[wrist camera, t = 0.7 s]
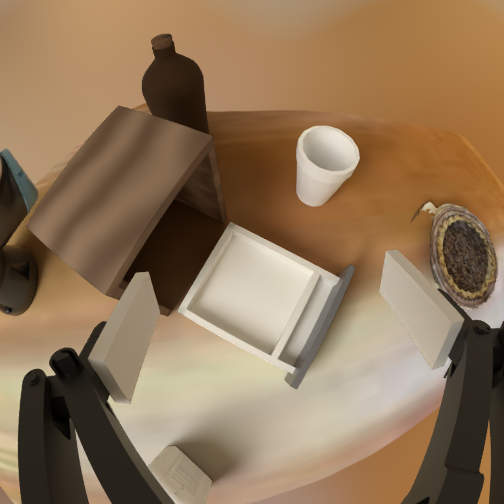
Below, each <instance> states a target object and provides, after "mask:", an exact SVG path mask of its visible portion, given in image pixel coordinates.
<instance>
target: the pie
mask: <svg viewBox="0 0 504 504" xmlns="http://www.w3.org/2000/svg"><path fill="white" fill-rule="evenodd" d="M425 207H426V208H425ZM420 208H421V209H422V210H424V211H426V209H431V210H430V211H429V213H432V212H433V213H434V214H435V216H434V217H435V218H434V217H432V218H434V220H433V224H432V230H431V244H430V264H431V269H432V273H433V277H434V280H435V281H436V282H437V284H438V285H439V287H440V289H441V290H443V291H445V292H446V293H448V294H449V295H450V296H451V297H452V298H453V300H454V301H455V302H456V303H457V304H458V305H459V306H460V307H461V308H465V309H474V308H478V305H479V306H480V305H482V304H483V302H484V303H485V302H487V299H489V298H491V297H490V296H491V295H492V293H493V290H494V285H495V282H496V278H497V275H498V262H497V257H496V253H495V250H494V248H493V247H492V245H493V244H492V243H491V241H490V239H489V236H490V235H489V232H488V231H487V229H486V228H485V226H484V224H483V223H481V221H479V219H478V218H477V217H476V216H475V215H473V214H472V213H471V212H470V211H469V210H467V209H466V207H464V206H461V207H460V206H457V205H455V204H448V203H447V204H444V205H442V206H439V208H435V206H433V204H432V203H431V202H426V203H425V204H424V205H422V206H421V207H420ZM420 208H419V209H420ZM419 209H418V211H417V212H416V214H415V215H414V217H413V219H412V221H413V220H414V219H415V217H416V216H417V215H419V214H420V212H419ZM412 221H411V222H412ZM410 224H411V223H410Z"/></svg>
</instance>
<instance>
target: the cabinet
mask: <svg viewBox="0 0 504 504" xmlns="http://www.w3.org/2000/svg"><path fill="white" fill-rule="evenodd" d="M174 199H175V200H177V201H179V202H181V203H183V204H185V205H187V206H189V207H191V208H193V209H195V210H197V211H199V212H201V213H203V214H205V215H207V216H209V217H211V218H213V219H215V220H217V221H219V222H221V223H224V222H225V220H226V219H227V216H226V211H225V205H224V199H223V193H222V187H221V182H220V176H219V170H218V164H217V158H216V152H215V145H214V139H213V136H211V135H208V134H205V133H203V132H200V131H197V130H194V129H192V128H189V127H186V126H183V125H180V124H177V123H174V122H171V121H168V120H165V119H162V118H159V117H156V116H153V115H149V114H146V113H143V112H140V111H136V110H133V109H129V108H126V107H122V106H118V107H117V108H116V109H115V110H114V111H113V112H112V113H111V114H110V115H109V116H108V117H107V118H106V120H104V122H103V123H102V124H101V125H100V126H99V127H98V128H97V129H96V130H95V132H94V133H93V134H92V135H91V136H90V137H89V138H88V139H87V141H86V142H85V143H84V144H83V145H82V147H81V148H80V149H79V150H78V152H77V153H76V154H75V155H74V157H73V158H72V159H71V160H70V162H69V163H68V164H67V166H66V167H65V168H64V170H63V171H62V172H61V174H60V175H59V176H58V178H57V179H56V181H55V182H54V183H53V185H52V186H51V188H50V189H49V191H48V192H47V194H46V195H45V197H44V198H43V200H42V201H41V203H40V204H39V206H38V208H37V209H36V211H35V212H34V214H33V216H32V217H31V219H30V221H29V223H28V224H27V226H26V227H27V228H28V229H29V230H30V231H31V232H32V233H33V234H34V235H35V236H36V237H37V238H38V239H40V240H41V241H42V242H43V243H44V244H45V245H46V246H47V247H48V248H49V249H50V250H51V251H53V252H54V253H55V254H56V255H57V256H58V257H59V258H60V259H62V260H63V261H64V262H65V263H66V264H67V265H69V266H70V267H71V268H72V269H73V270H74V271H76V272H77V273H78V274H79V275H80V276H82V277H83V278H84V279H85V280H87V281H88V282H89V283H90V284H92V285H93V286H94V287H95V288H97V289H98V290H99V291H101V292H102V293H103V294H104V295H107V296H109V297H112V298H115V299H117V300H120V298H121V297H122V295H123V293H124V292H125V290H126V288H127V287H128V285H129V282H128V281H126V280H125V279H123V278H124V276H125V274H126V273H127V271H128V269H129V268H130V266H131V264H132V263H133V261H134V259H135V258H136V256H137V254H138V253H139V251H140V250H141V248H142V246H143V245H144V243H145V242H146V240H147V239H148V237H149V235H150V234H151V232H152V231H153V229H154V228H155V226H156V225H157V223H158V222H159V220H160V219H161V217H162V216H163V214H164V213H165V211H166V210H167V208H168V207H169V206H170V204H171V203H172V201H173V200H174ZM157 303H158V307H159V310H160V314H162V315H165V316H168V315H169V314H170V312H171V310H170V309H169V308H167V307H166V306H164V305H162V304H161V303H159V302H158V301H157Z"/></svg>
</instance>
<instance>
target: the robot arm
mask: <svg viewBox="0 0 504 504" xmlns="http://www.w3.org/2000/svg"><path fill="white" fill-rule="evenodd" d="M37 199H38V190H37V188H36V187H35V186H34V184H33V183H32V181H31V180H30V179H29V178H28V176H27V175H26V173H25V172H24V171H23V169H22V168H21V166H20V165H19V164H18V162H17V161H16V160H15V158H14V157H13V155H12V154H11V152H10V151H9V150H8V149H4V150H3V151H1V152H0V311H1V312H3V313H5V314H7V315H12V316H18V315H20V314H22V313H23V312H25V311H26V309H27V308H28V307H29V305H30V304H31V302H32V300H33V297H34V294H35V291H36V286H37V266H36V262H35V259H34V257H33V255H32V254H31V253H30V252H29V251H28V250H27V249H25V248H23V247H21V246H17V245H6V244H7V242H8V241H9V239H10V238H11V236H12V235H13V233H14V232H15V231H16V229H17V228H18V226H19V225H20V224H21V222H22V221H23V220H24V218H25V217H26V216H27V215H28V214H29V212H30V209H31V208H32V207H33V205H34V204H35V202H36V201H37ZM379 292H380V293H381V295H382V296H383V298H384V299H385V301H386V302H387V303H388V305H389V306H390V308H391V309H392V310H393V312H394V313H395V315H396V316H397V318H398V319H399V321H400V322H401V324H402V325H403V327H404V328H405V330H406V331H407V333H408V334H409V336H410V337H411V339H412V340H413V342H414V343H415V345H416V346H417V348H418V350H419V351H420V353H421V354H422V356H423V357H424V359H425V361H426V362H427V364H428V365H429V367H430V369H431V370H433V369H436V368H439V367H441V366H444V364H445V362H446V360H447V358H448V356H449V358H450V359H451V361H452V362H451V364H450V366H449V368H448V370H447V372H446V373H445V375H444V377H443V378H446V376H447V375H448V376H447V381H446V385H445V390H444V394H443V399H442V403H441V406H440V410H439V414H438V418H437V421H436V425H435V428H434V431H433V434H432V437H431V440H430V443H429V446H428V449H427V452H426V454H425V457H424V460H423V462H422V465H421V468H420V470H419V473H418V475H417V477H416V479H415V482H414V484H413V486H412V488H411V490H410V492H409V493H408V495H407V496H406V497H405V498H404V500H403V501H402V503H401V504H477V503H478V500H479V497H480V493H481V490H482V487H483V482H484V475H483V474H481V473H480V472H479V468H480V463H481V459H482V455H483V450H484V445H485V440H486V434H487V428H488V421H490V422H489V423H490V437H491V480H490V481H491V482H490V497H489V504H504V321H503V323H502V325H501V327H500V328H493V329H491V328H490V326H489V325H488V324H487V323H485V322H483V321H481V320H472V319H471V318H470V317H469V316H468V315H467V313H466V312H465V311H464V310H463V309H462V308H461V307H460V306H459V305H458V304H457V303H456V302H455V301H454V300H453V298H452V297H451V296H450V295H449V294H448V293H446V292H445V291H443V290H441V289H440V288H439V289H436V288H435V287H434V286H433V285H432V283H431V282H430V281H429V280H428V279H427V278H426V277H425V276H424V275H423V274H422V273H421V272H420V271H419V270H418V269H417V268H416V267H415V266H414V265H413V264H412V263H410V262H409V261H408V260H407V259H406V258H405V257H404V256H403V255H402V254H401V253H400V252H399V251H398V250H389V251H386V253H385V260H384V267H383V274H382V280H381V286H380V291H379ZM159 315H160V310H159V307H158V303H157V300H156V297H155V293H154V290H153V286H152V283H151V279H150V275H149V272H138V273H135V275H134V277H133V278H132V280H131V282H130V283H129V285H128V287H127V288H126V290H125V292H124V293H123V295H122V297H121V298H120V300H119V302H118V304H117V305H116V307H115V309H114V311H113V312H112V314H111V316H110V318H109V319H108V321H107V322H105V321H102V322H101V323H100V324H98V325H97V326H96V327H95V328H94V330H93V332H92V333H91V335H90V337H89V339H88V340H87V343H86V344H85V346H84V348H83V349H82V351H81V353H80V355H79V357H78V355H77V353H76V352H75V350H74V349H72V348H62V349H60V350H58V351H56V352H55V353H54V354H53V355H52V356H51V358H50V361H49V365H50V367H51V368H52V370H53V371H54V372H55V374H56V375H54V376H48V377H47V376H46V374H45V373H44V371H43V370H41V369H34V370H31V371H30V372H28V373H27V374H26V376H25V377H24V379H23V383H22V390H21V399H20V410H19V426H18V467H19V482H20V493H21V501H22V504H89V502H88V498H87V494H86V490H85V486H84V481H83V476H82V471H81V466H80V460H79V454H78V448H77V441H76V433H75V429H76V432H77V434H78V437H79V439H80V441H81V444H82V446H83V448H84V451H85V453H86V455H87V457H88V460H89V462H90V464H91V466H92V468H93V470H94V472H95V474H96V476H97V478H98V480H99V482H100V484H101V485H102V487H103V489H104V491H105V493H106V494H107V496H108V498H109V500H110V501H111V503H112V504H175V502H174V501H173V500H172V499H171V498H170V496H169V495H168V494H167V493H166V491H165V490H164V489H163V487H162V486H161V485H160V483H159V482H158V481H157V479H156V478H155V477H154V475H153V474H152V473H151V471H150V470H149V468H148V467H147V466H146V464H145V463H144V461H143V460H142V458H141V457H140V455H139V454H138V452H137V451H136V449H135V447H134V446H133V444H132V443H131V441H130V439H129V438H128V436H127V435H126V433H125V431H124V429H123V428H122V426H121V424H120V423H119V421H118V419H117V417H116V415H115V414H114V412H113V410H112V408H111V406H110V404H109V403H108V402H107V400H108V398H109V395H110V396H111V397H112V398H113V400H114V401H115V402H118V403H127V404H130V403H131V400H132V396H133V393H134V390H135V386H136V383H137V380H138V377H139V374H140V370H141V367H142V364H143V361H144V358H145V355H146V352H147V349H148V346H149V343H150V340H151V337H152V335H153V332H154V329H155V326H156V323H157V320H158V318H159Z"/></svg>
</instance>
